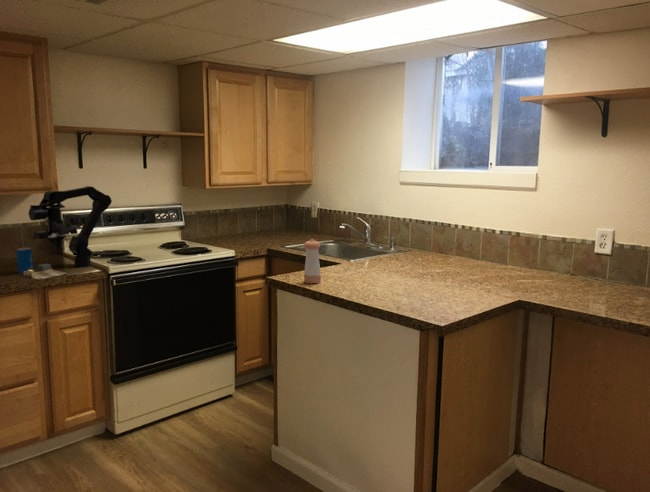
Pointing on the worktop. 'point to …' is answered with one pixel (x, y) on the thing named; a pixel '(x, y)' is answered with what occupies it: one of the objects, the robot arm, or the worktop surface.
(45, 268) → the block
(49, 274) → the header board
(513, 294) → the worktop surface
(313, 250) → the pepper shaker
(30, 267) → the beverage can
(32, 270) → the brass knob strip
